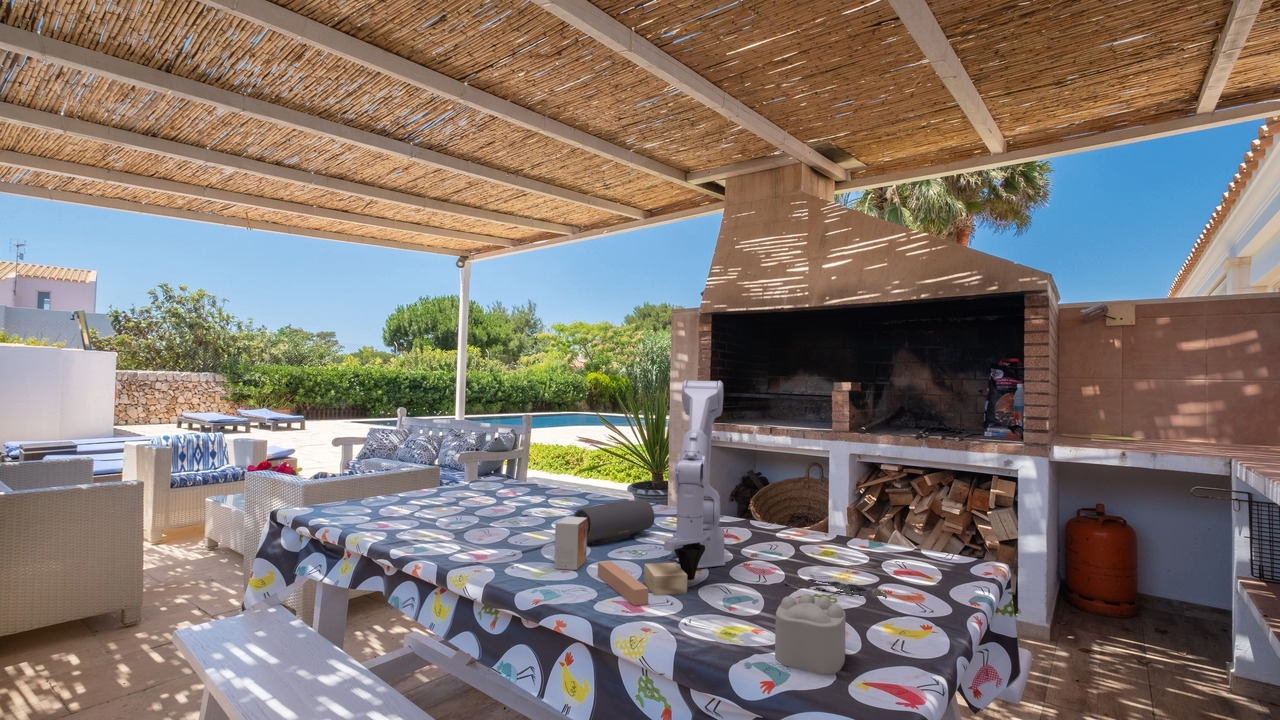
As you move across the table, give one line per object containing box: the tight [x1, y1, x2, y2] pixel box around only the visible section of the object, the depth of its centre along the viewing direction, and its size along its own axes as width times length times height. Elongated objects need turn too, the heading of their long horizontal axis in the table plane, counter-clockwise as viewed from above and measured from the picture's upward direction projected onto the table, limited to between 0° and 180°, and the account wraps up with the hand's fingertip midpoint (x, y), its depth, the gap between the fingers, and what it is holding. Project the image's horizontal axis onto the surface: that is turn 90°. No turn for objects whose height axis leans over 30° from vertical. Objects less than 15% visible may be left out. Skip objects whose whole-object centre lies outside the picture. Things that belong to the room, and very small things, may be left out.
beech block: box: [643, 562, 688, 596], centre depth 134 cm, size 7×9×4 cm
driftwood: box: [783, 578, 887, 598], centre depth 136 cm, size 21×7×2 cm, turn 63°
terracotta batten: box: [597, 560, 650, 607], centre depth 132 cm, size 3×20×3 cm, turn 24°
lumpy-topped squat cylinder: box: [774, 593, 847, 675], centre depth 102 cm, size 10×13×9 cm
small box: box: [553, 516, 588, 571], centre depth 149 cm, size 8×6×10 cm
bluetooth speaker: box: [573, 499, 655, 543], centre depth 175 cm, size 23×9×10 cm, turn 133°
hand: (688, 579), depth 136 cm, fingers closed
